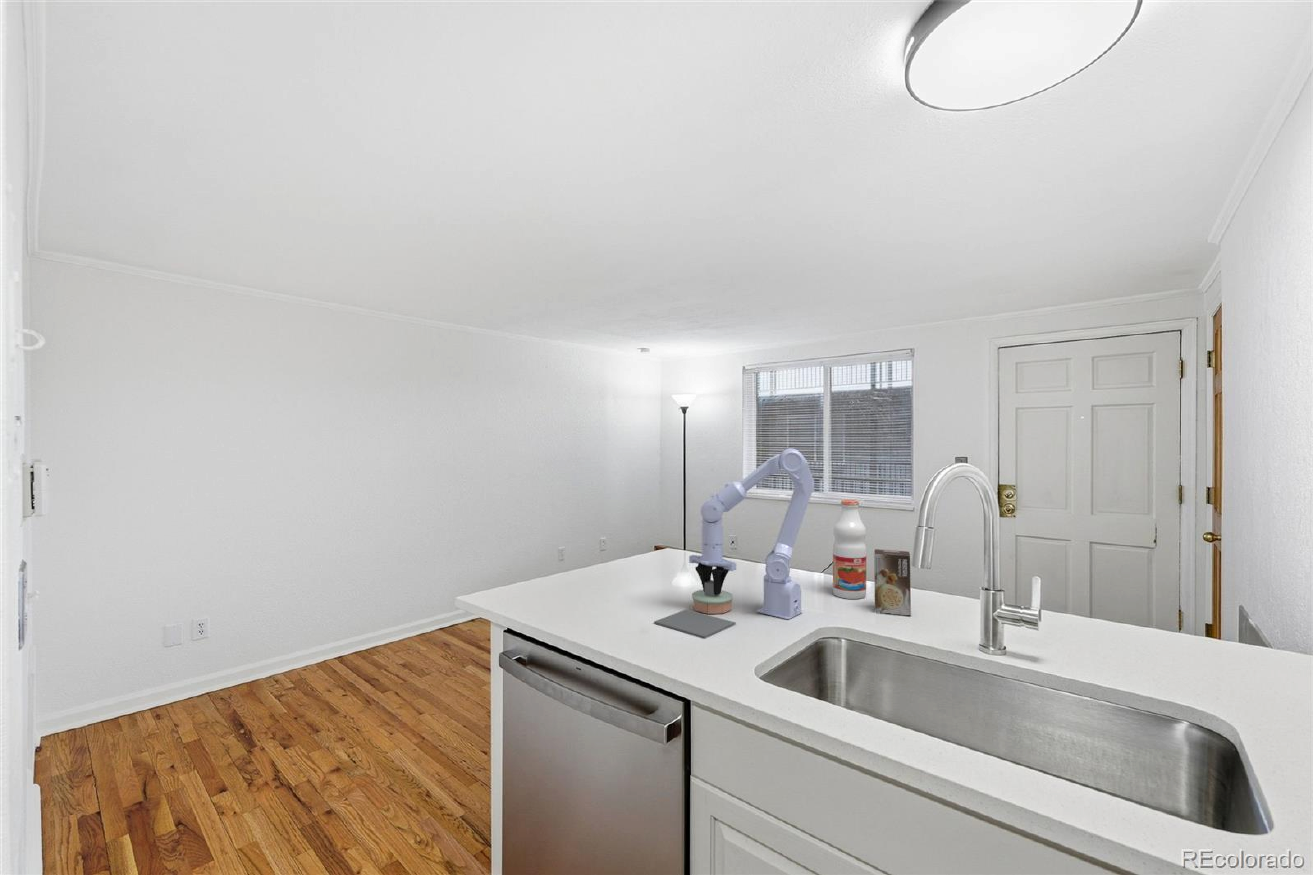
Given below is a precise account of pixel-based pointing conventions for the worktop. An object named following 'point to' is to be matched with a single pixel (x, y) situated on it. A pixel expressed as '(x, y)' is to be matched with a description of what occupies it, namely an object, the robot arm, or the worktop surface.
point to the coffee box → (892, 582)
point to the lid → (711, 595)
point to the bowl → (712, 607)
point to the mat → (695, 623)
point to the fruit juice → (849, 553)
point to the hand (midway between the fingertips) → (712, 592)
